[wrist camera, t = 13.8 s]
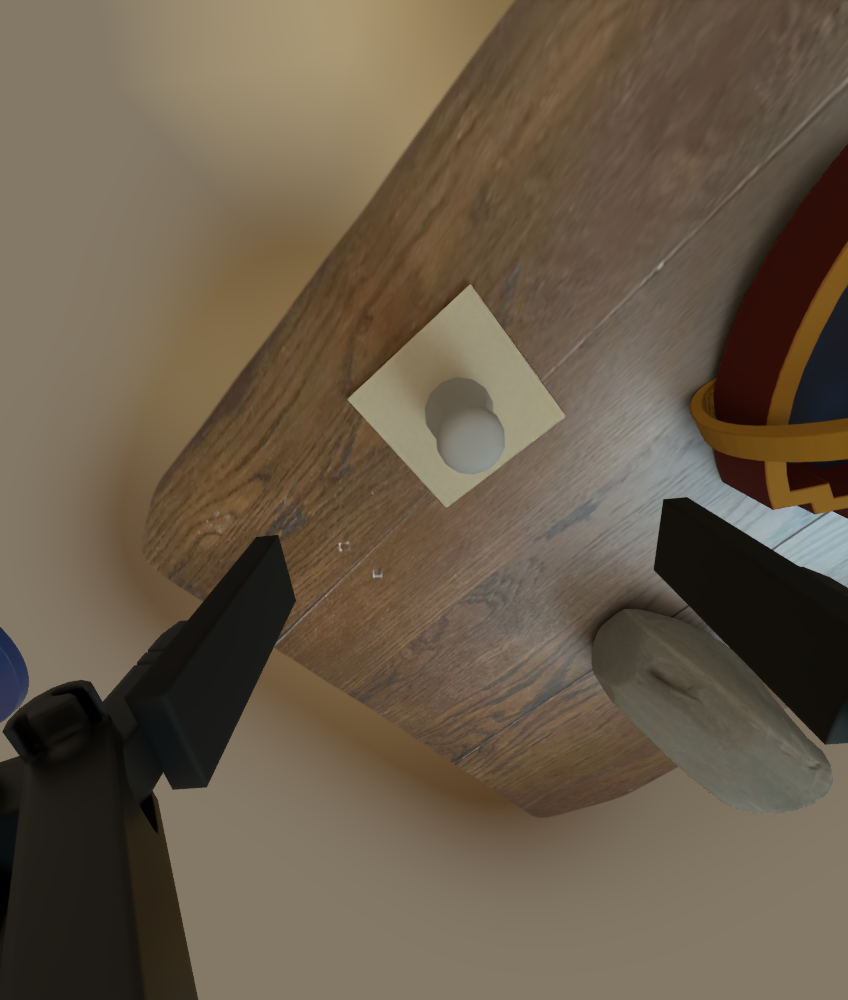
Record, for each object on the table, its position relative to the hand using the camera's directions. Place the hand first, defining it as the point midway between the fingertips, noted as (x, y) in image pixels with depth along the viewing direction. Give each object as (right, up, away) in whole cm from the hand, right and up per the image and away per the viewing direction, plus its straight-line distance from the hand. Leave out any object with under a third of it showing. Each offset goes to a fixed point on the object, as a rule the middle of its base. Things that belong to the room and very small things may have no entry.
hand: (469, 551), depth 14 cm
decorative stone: (+25, -15, +33) cm, 44 cm away
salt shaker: (+1, +10, +22) cm, 24 cm away
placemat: (+1, +10, +22) cm, 25 cm away
